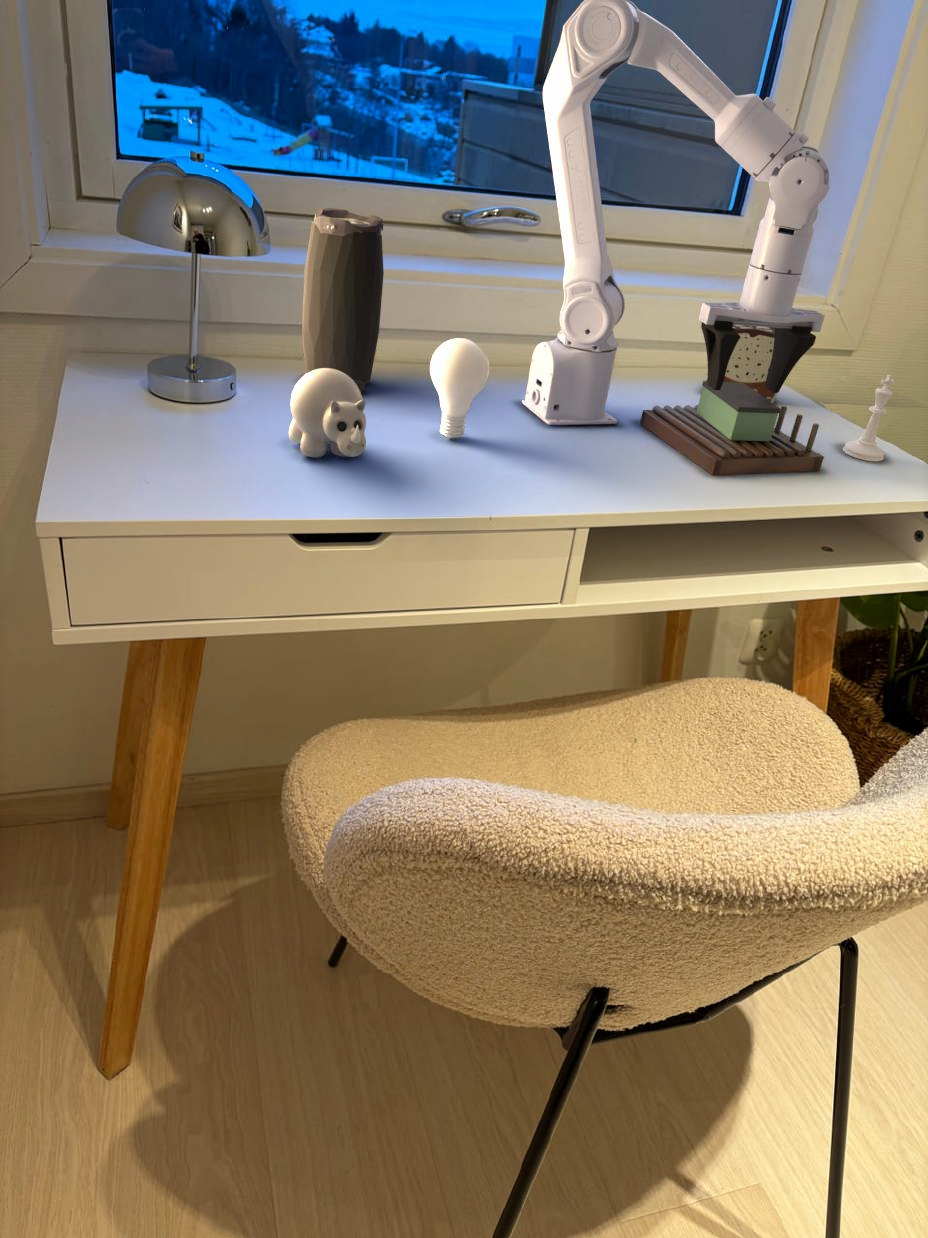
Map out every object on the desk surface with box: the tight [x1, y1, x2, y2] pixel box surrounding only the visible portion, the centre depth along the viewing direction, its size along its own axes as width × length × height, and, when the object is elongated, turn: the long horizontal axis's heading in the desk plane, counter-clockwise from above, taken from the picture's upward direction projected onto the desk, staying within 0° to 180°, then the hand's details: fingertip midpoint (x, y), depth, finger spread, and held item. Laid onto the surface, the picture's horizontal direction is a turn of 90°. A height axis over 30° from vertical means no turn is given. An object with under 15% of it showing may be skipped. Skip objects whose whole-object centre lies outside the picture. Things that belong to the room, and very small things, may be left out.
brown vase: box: [301, 207, 385, 394], centre depth 118 cm, size 9×9×20 cm
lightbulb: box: [429, 337, 490, 440], centre depth 109 cm, size 6×6×11 cm
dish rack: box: [639, 389, 825, 476], centre depth 120 cm, size 15×16×5 cm
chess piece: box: [842, 374, 895, 462], centre depth 123 cm, size 5×5×10 cm
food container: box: [706, 325, 778, 404], centre depth 140 cm, size 12×6×10 cm, turn 84°
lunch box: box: [697, 380, 781, 441], centre depth 119 cm, size 5×9×4 cm, turn 14°
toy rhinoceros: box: [288, 368, 367, 458], centre depth 100 cm, size 7×12×8 cm, turn 25°
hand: (742, 388), depth 118 cm, fingers open, 7 cm apart
